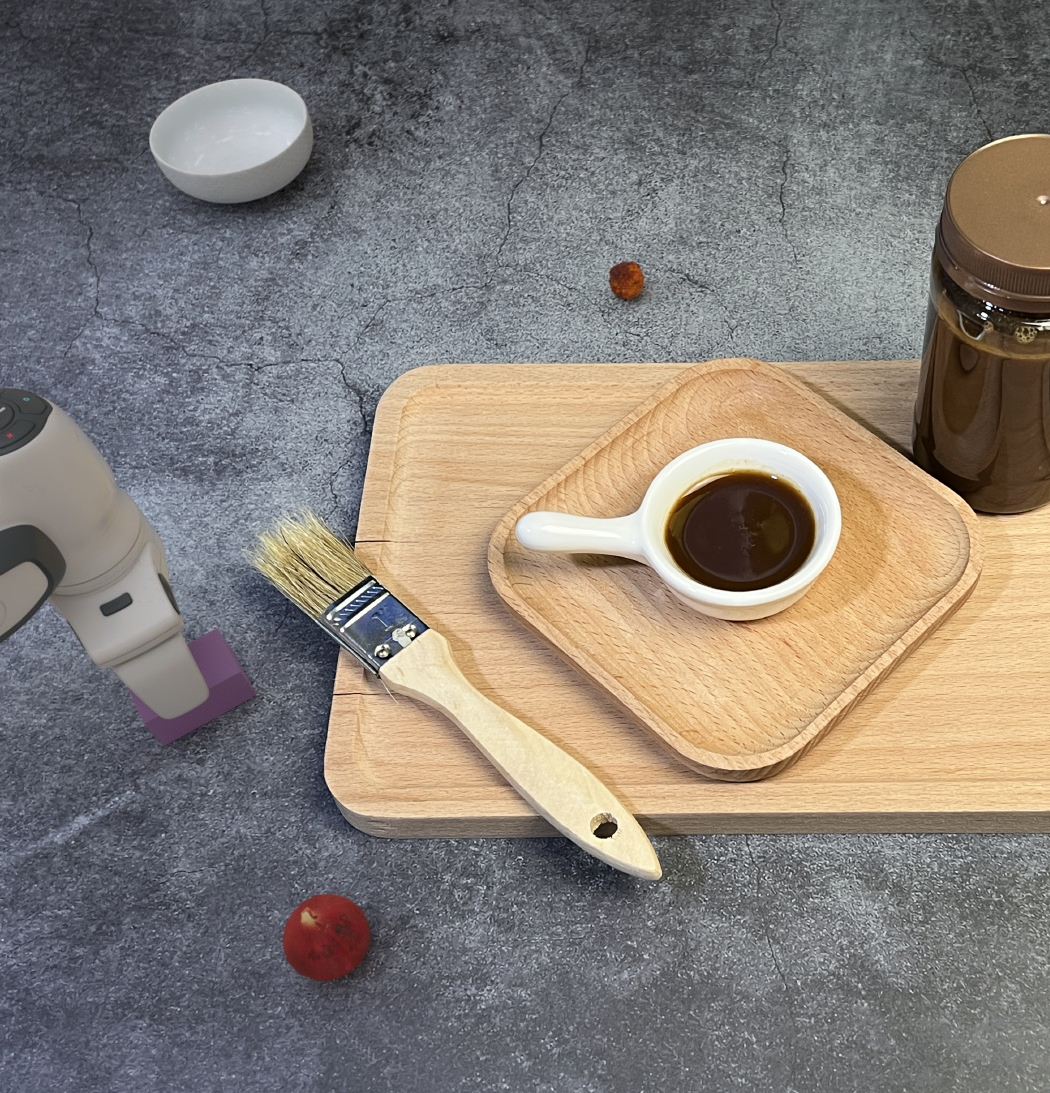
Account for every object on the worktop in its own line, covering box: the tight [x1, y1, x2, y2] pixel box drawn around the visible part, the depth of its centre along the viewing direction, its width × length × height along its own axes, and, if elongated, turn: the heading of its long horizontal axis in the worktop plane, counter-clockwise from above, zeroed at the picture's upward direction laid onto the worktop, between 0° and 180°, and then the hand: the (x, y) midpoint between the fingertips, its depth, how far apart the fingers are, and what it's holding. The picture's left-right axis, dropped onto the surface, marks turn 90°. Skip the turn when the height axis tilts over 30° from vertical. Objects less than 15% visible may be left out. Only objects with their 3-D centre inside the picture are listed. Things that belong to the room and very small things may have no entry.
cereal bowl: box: [148, 78, 314, 204], centre depth 141 cm, size 17×17×7 cm
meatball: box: [608, 261, 645, 300], centre depth 130 cm, size 4×4×4 cm
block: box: [126, 627, 257, 747], centre depth 105 cm, size 5×8×4 cm, turn 124°
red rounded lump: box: [282, 893, 371, 982], centre depth 91 cm, size 6×6×8 cm
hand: (171, 652), depth 107 cm, fingers closed
